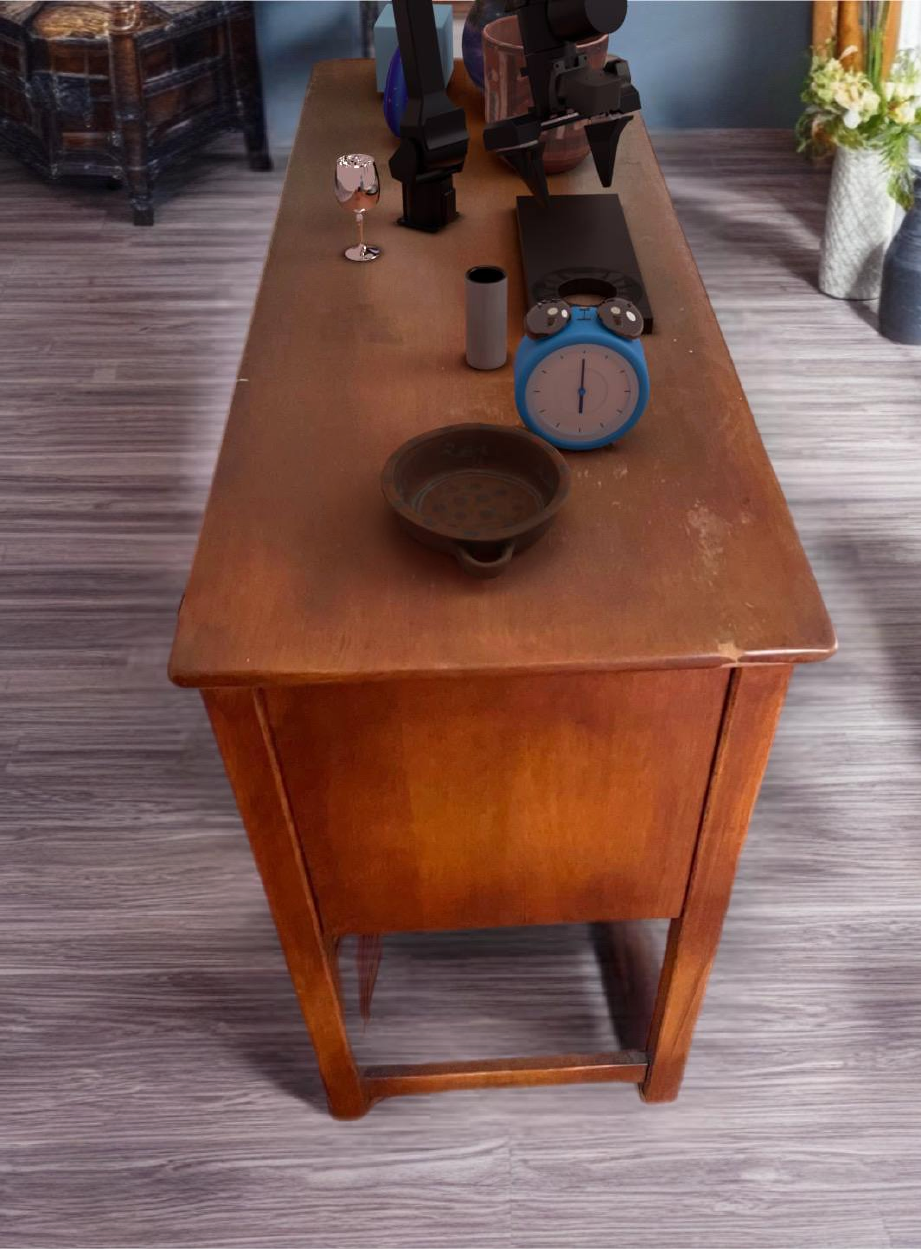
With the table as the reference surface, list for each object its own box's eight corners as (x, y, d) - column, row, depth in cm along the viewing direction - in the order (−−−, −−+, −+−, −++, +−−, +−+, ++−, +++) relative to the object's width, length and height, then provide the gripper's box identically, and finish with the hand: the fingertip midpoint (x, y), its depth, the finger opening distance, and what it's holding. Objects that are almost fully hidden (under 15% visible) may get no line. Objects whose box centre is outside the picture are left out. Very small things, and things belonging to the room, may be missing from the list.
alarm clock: (513, 454, 120) (515, 317, 110) (512, 421, 124) (514, 287, 114) (644, 453, 119) (658, 316, 109) (638, 420, 124) (651, 286, 114)
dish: (384, 597, 103) (380, 552, 100) (382, 456, 120) (379, 413, 116) (583, 588, 104) (586, 543, 101) (555, 448, 120) (556, 405, 117)
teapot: (442, 110, 195) (439, 19, 186) (375, 108, 196) (369, 17, 187) (458, 67, 211) (456, -19, 202) (396, 66, 212) (391, -19, 203)
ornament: (399, 124, 190) (394, 23, 180) (454, 129, 188) (452, 27, 178) (377, 149, 182) (370, 45, 172) (434, 154, 180) (431, 49, 170)
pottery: (573, 132, 186) (579, 7, 174) (619, 172, 174) (629, 40, 162) (466, 146, 182) (465, 19, 170) (506, 189, 170) (507, 55, 158)
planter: (502, 372, 132) (503, 285, 125) (462, 368, 132) (461, 282, 126) (509, 352, 135) (510, 266, 128) (470, 348, 136) (469, 263, 129)
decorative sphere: (459, 91, 201) (456, -40, 188) (576, 87, 202) (582, -45, 189) (466, 132, 187) (464, -8, 174) (592, 127, 188) (600, -13, 175)
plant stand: (515, 210, 165) (516, 195, 163) (616, 207, 165) (617, 193, 163) (531, 336, 138) (531, 320, 136) (652, 333, 138) (653, 318, 136)
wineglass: (392, 248, 156) (386, 156, 148) (371, 266, 152) (364, 172, 144) (353, 241, 158) (346, 149, 150) (332, 258, 154) (323, 165, 146)
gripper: (527, 55, 119) (557, 215, 125) (663, 20, 127) (685, 172, 133) (465, 71, 128) (497, 219, 134) (596, 37, 136) (620, 179, 142)
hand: (577, 197), depth 136 cm, fingers open, 9 cm apart
